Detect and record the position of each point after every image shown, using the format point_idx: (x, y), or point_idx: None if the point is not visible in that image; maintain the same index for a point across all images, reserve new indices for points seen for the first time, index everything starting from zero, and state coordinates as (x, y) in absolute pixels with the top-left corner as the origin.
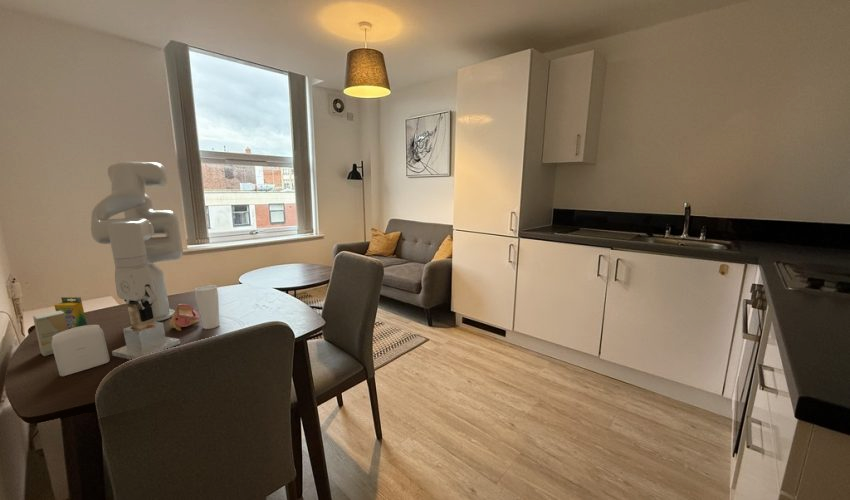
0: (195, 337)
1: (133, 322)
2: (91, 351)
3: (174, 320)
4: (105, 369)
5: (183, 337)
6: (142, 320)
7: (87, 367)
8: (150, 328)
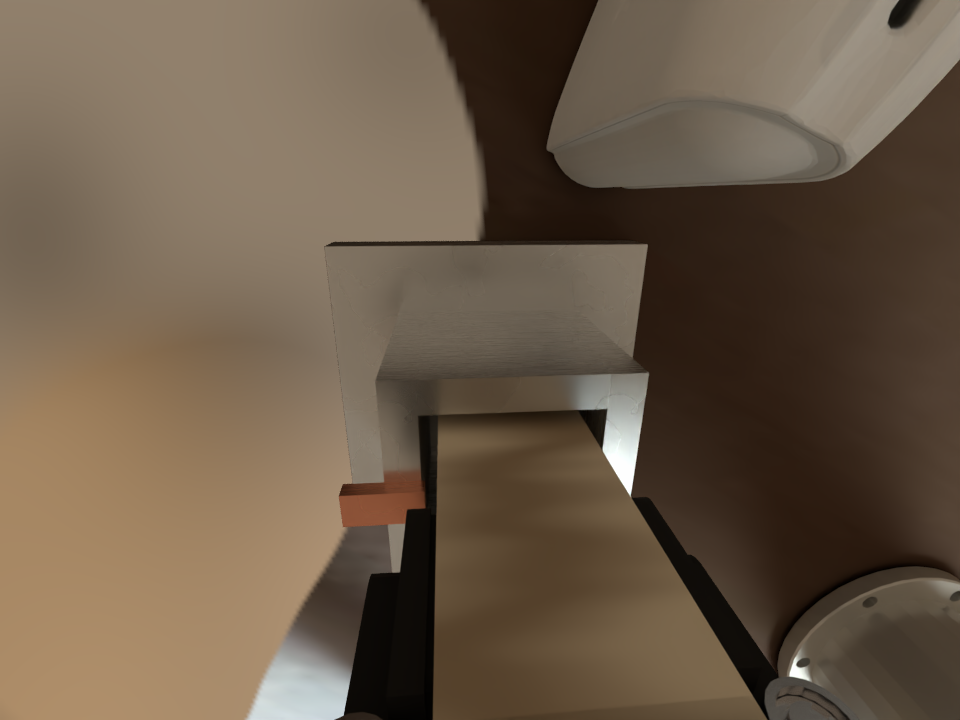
0: (358, 569)
1: (557, 469)
2: (621, 13)
3: None
4: (458, 73)
5: None
6: (406, 521)
7: (593, 13)
8: (386, 482)
